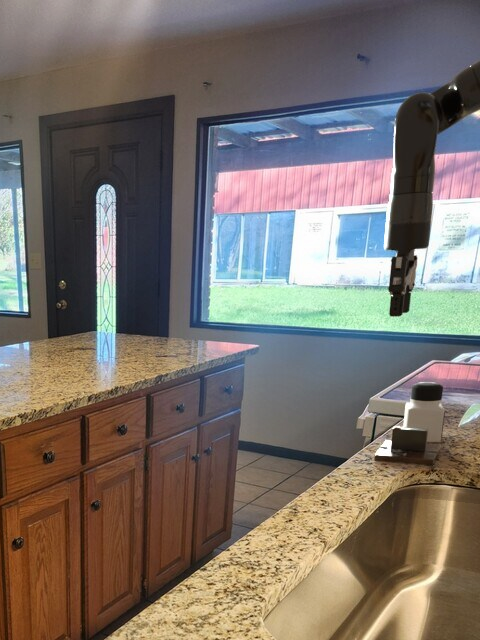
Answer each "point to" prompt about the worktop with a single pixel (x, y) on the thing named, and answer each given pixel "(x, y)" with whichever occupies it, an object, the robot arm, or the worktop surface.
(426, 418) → the medicine bottle
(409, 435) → the dark grey upright block
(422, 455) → the panel
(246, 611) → the worktop surface
